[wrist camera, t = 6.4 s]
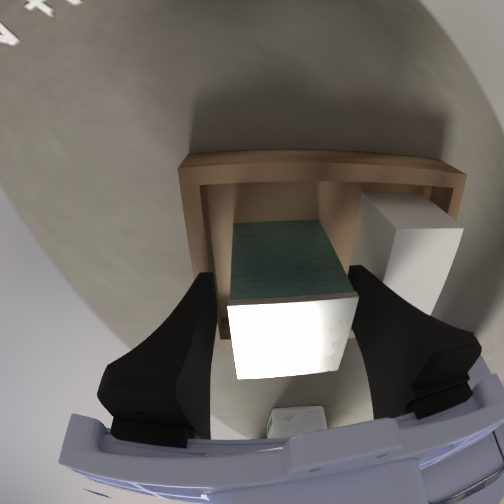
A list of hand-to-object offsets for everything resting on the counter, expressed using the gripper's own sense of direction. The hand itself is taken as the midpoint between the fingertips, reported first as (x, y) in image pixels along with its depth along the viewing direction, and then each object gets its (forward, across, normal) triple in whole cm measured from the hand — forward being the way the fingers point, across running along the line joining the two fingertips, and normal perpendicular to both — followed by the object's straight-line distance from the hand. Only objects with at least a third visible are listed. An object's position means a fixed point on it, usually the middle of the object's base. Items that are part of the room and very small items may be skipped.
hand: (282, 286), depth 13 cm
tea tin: (+3, 0, 0) cm, 3 cm away
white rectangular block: (+3, -6, 0) cm, 7 cm away
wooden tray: (+3, -3, 0) cm, 4 cm away
